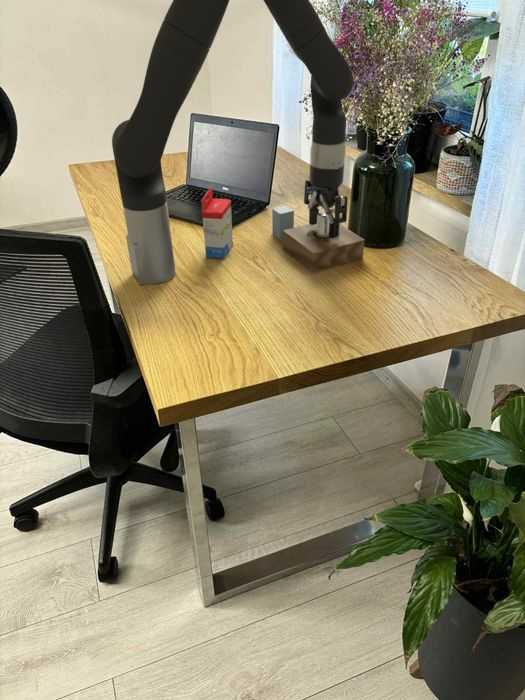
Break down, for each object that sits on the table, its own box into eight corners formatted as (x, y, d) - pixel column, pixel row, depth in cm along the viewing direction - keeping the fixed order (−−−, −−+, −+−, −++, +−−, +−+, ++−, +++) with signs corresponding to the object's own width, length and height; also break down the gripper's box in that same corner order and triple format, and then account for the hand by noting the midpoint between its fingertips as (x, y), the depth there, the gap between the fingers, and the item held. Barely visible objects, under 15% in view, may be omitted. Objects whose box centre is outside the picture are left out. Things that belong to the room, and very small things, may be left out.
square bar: (279, 239, 139) (280, 213, 135) (272, 234, 142) (272, 208, 138) (293, 236, 140) (293, 210, 136) (285, 230, 143) (286, 205, 139)
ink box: (225, 259, 131) (221, 200, 122) (205, 257, 132) (200, 199, 123) (233, 243, 137) (230, 187, 129) (214, 242, 138) (210, 185, 129)
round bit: (319, 258, 131) (322, 218, 125) (312, 252, 133) (314, 214, 127) (331, 255, 132) (333, 216, 126) (323, 249, 134) (326, 211, 128)
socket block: (312, 272, 125) (313, 253, 122) (282, 249, 135) (282, 230, 132) (362, 259, 130) (364, 239, 127) (330, 236, 140) (331, 218, 137)
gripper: (295, 155, 123) (294, 223, 132) (331, 174, 112) (326, 245, 122) (323, 150, 125) (320, 217, 135) (360, 168, 115) (353, 238, 125)
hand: (323, 230), depth 129 cm, fingers open, 8 cm apart
